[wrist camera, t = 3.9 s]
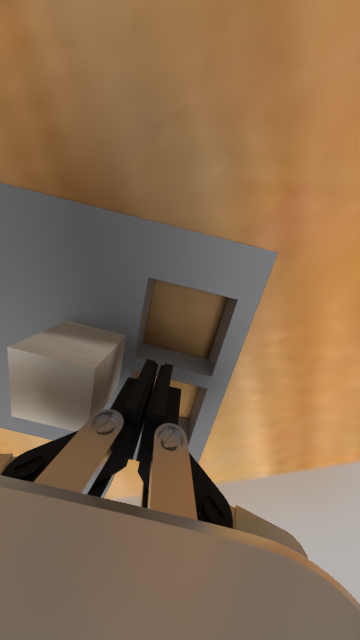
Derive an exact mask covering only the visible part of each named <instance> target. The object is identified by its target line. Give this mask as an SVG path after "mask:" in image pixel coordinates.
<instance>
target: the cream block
mask: <svg viewBox="0 0 360 640" xmlns="http://www.w3.org/2000/svg"><path fill="white" fill-rule="evenodd" d="M125 340H126V335H123V334H119V333H115V332H111V331H107V330H103V329H99V328H95V327H91V326H87V325H83V324H79V323H74V322H70V321H65V322H63V323H61V324H58V325H56V326H54V327H52V328H49V329H47V330H45V331H42V332H40V333H38V334H36V335H33V336H31V337H29V338H27V339H24V340H22V341H20V342H18V343H15V344H13V345H11V346H8V347H7V351H8V368H9V385H10V401H11V416H12V417H17V418H21V419H25V420H29V421H33V422H37V423H42V424H46V425H50V426H54V427H58V428H62V429H67V430H71V431H78V430H80V429H81V428H82V427H83V426H84V424H85V423H86V422H87V421H88V420H89V419H90V418H91V417H92V416H93V415H94V414H95V413H97V412H99V411H101V410H103V409H104V408H105V406H106V404H107V403H108V401H109V399H110V398H111V396H112V395H113V393H114V391H115V390H116V388H117V386H118V384H119V378H120V372H121V365H122V359H123V353H124V347H125Z"/></svg>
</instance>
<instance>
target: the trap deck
mask: <svg viewBox="0 0 360 640" xmlns="http://www.w3.org/2000/svg"><path fill="white" fill-rule="evenodd" d="M277 254H278V253H277V252H273V251H269V250H265V249H262V248H258V247H254V246H250V245H246V244H242V243H238V242H234V241H230V240H226V239H222V238H218V237H214V236H210V235H206V234H202V233H198V232H194V231H190V230H186V229H182V228H178V227H174V226H170V225H166V224H162V223H158V222H154V221H150V220H146V219H142V218H138V217H134V216H130V215H126V214H122V213H118V212H115V211H111V210H107V209H103V208H99V207H95V206H91V205H87V204H83V203H79V202H75V201H71V200H67V199H63V198H59V197H55V196H51V195H47V194H43V193H39V192H35V191H31V190H27V189H23V188H19V187H15V186H11V185H7V184H3V183H0V428H4V429H8V430H12V431H16V432H21V433H25V434H29V435H33V436H37V437H42V438H46V439H50V440H56V439H58V438H61V437H63V436H66V435H68V434H71V433H73V432H75V431H71V430H67V429H62V428H58V427H54V426H50V425H46V424H42V423H37V422H33V421H29V420H25V419H21V418H17V417H12V416H11V401H10V385H9V368H8V351H7V347H8V346H11V345H13V344H15V343H18V342H20V341H22V340H24V339H27V338H29V337H31V336H33V335H36V334H38V333H40V332H42V331H45V330H47V329H49V328H52V327H54V326H56V325H58V324H61V323H63V322H65V321H70V322H74V323H79V324H83V325H87V326H91V327H95V328H99V329H103V330H107V331H111V332H115V333H119V334H123V335H126V340H125V347H124V353H123V359H122V365H121V372H120V378H119V384H118V386H117V388H116V390H115V391H114V393H113V395H112V396H111V398H110V399H109V401H108V403H107V404H106V406H105V408H104V409H103V410H105V409H110V408H111V406H112V404H113V403H114V401H115V399H116V397H117V396H118V394H119V392H120V390H121V389H122V387H123V385H124V383H125V382H126V380H127V378H128V377H131V378H135V379H136V378H137V373H138V372H141V371H142V368H143V366H144V364H145V362H146V360H147V359H150V360H154V361H156V363H157V364H158V369H157V373H156V376H158V373H159V370H160V366H161V365H165V363H167V364H171V365H173V370H172V375H171V380H175V381H179V382H183V383H187V384H191V385H195V386H199V390H198V393H197V396H196V399H195V402H194V405H193V408H192V411H191V415H190V418H189V419H186V418H182V417H179V420H178V426H179V427H181V428H182V429H183V430H184V432H185V434H186V436H187V441H188V449H189V453H190V454H191V455H192V456H193V458H194V459H195V460H196V462H197V463H199V460H200V457H201V455H202V452H203V449H204V447H205V444H206V441H207V439H208V436H209V434H210V431H211V428H212V426H213V423H214V420H215V418H216V415H217V412H218V410H219V407H220V404H221V402H222V399H223V397H224V394H225V391H226V389H227V386H228V383H229V381H230V378H231V375H232V373H233V370H234V368H235V365H236V362H237V360H238V357H239V354H240V352H241V349H242V346H243V344H244V341H245V338H246V336H247V333H248V331H249V328H250V325H251V323H252V320H253V317H254V315H255V312H256V309H257V307H258V304H259V302H260V299H261V296H262V294H263V291H264V288H265V286H266V283H267V280H268V278H269V275H270V272H271V270H272V267H273V265H274V262H275V259H276V257H277ZM155 279H156V280H160V281H165V282H169V283H173V284H177V285H181V286H185V287H189V288H193V289H197V290H201V291H205V292H209V293H213V294H217V295H221V296H225V297H228V300H227V303H226V306H225V309H224V312H223V315H222V318H221V322H220V325H219V328H218V331H217V334H216V337H215V340H214V343H213V346H212V349H211V353H210V356H209V359H208V358H204V357H200V356H196V355H192V354H187V353H183V352H179V351H175V350H171V349H167V348H163V347H159V346H155V345H151V344H147V343H143V341H144V336H145V331H146V326H147V321H148V315H149V310H150V305H151V300H152V295H153V289H154V284H155ZM143 425H144V424H143ZM142 430H143V428H142ZM141 435H142V431H141V434H140V437H139V441H138V444H137V447H136V451H135V454H134V457H133V460H136V458H137V454H138V449H139V444H140V440H141Z"/></svg>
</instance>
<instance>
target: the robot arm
mask: <svg viewBox="0 0 360 640" xmlns="http://www.w3.org/2000/svg"><path fill="white" fill-rule="evenodd" d="M157 369H158V364H157V363H156V361H154V360H150V359H147V360H146V362H145V364H144V366H143V368H142V371H141V373H140V375H139V377H138V379H135V378H131V377H128V378H127V380H126V382H125V383H124V385H123V387H122V389H121V390H120V392H119V394H118V396H117V397H116V399H115V401H114V403H113V404H112V406H111V408H110V409H105V410H101V411H99V412H97V413H95V414H94V415H93V416H92V417H91V418H90V419H89V420H88V421H87V422H86V423H85V424H84V426H83V427H82V428H81V429H80V430H78V431H75V432H73V433H71V434H68V435H66V436H63V437H61V438H58V439H56V440H54V441H51V442H49V443H46V444H44V445H41V446H39V447H37V448H34V449H32V450H29V451H27V452H25V453H23V454H21V455H19V456H18V457H13V454H0V640H360V604H359V603H358V602H357V601H356V599H355V598H354V597H353V596H352V595H351V594H350V593H349V592H348V591H347V590H346V589H345V588H344V587H343V586H342V585H341V584H340V583H339V582H337V581H336V580H335V579H334V578H333V577H332V576H330V575H329V574H328V573H326V572H325V571H324V570H323V569H321V568H320V567H319V566H318V565H316V564H315V563H313V562H312V561H310V560H309V559H308V557H307V555H306V553H305V551H304V550H303V548H302V546H301V545H300V544H299V542H298V541H297V540H296V539H295V538H294V537H293V536H292V535H291V534H289V533H288V532H286V531H285V530H283V529H281V528H279V527H277V526H275V525H273V524H272V523H269V522H268V521H266V520H264V519H262V518H260V517H258V516H256V515H254V514H252V513H250V512H249V511H247V510H245V509H243V508H241V507H239V506H237V505H236V507H235V508H234V507H232V506H230V505H229V504H228V502H227V500H226V499H225V497H224V496H223V495H222V493H221V492H220V491H219V489H218V488H217V487H216V486H215V484H214V483H213V482H212V481H211V479H210V478H209V477H208V475H207V474H206V473H205V472H204V470H203V469H202V468H201V467H200V465H199V464H198V463H197V462H196V460H195V459H194V458H193V456H192V455H191V454H190V453H189V449H188V441H187V436H186V434H185V432H184V430H183V429H182V428H181V427H179V426H178V420H179V408H180V397H181V389H178V388H174V387H170V380H171V375H172V370H173V365H171V364H167V363H165V365H161V366H160V370H159V373H158V376H157V379H156V382H155V378H156V373H157ZM154 383H155V386H154ZM153 387H154V389H153ZM143 424H144V425H143ZM142 428H143V430H142ZM141 431H142V435H141V440H140V444H139V449H138V454H137V458H136V461H140V463H139V468H138V473H139V475H140V477H141V479H142V481H143V485H142V493H141V503H140V507H138V506H135V505H130V504H126V503H122V502H117V501H113V500H109V499H104V496H105V495H106V493H107V491H108V489H109V487H110V485H111V483H112V481H113V479H114V476H115V473H117V472H118V471H120V470H122V469H123V468H124V467H126V465H127V462H128V459H131V460H133V457H134V454H135V451H136V447H137V444H138V441H139V437H140V434H141Z"/></svg>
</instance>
